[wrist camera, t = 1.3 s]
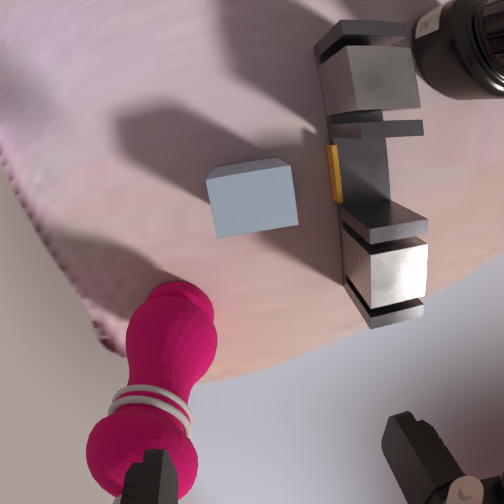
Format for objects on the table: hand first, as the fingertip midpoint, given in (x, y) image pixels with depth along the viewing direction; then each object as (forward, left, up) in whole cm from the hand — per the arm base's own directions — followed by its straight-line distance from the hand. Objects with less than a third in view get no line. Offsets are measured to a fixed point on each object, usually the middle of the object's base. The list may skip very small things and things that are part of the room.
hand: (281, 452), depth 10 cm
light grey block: (-6, +1, -19) cm, 20 cm away
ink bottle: (-16, +21, -19) cm, 32 cm away
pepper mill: (+4, -7, -19) cm, 20 cm away
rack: (-6, +10, -18) cm, 22 cm away
